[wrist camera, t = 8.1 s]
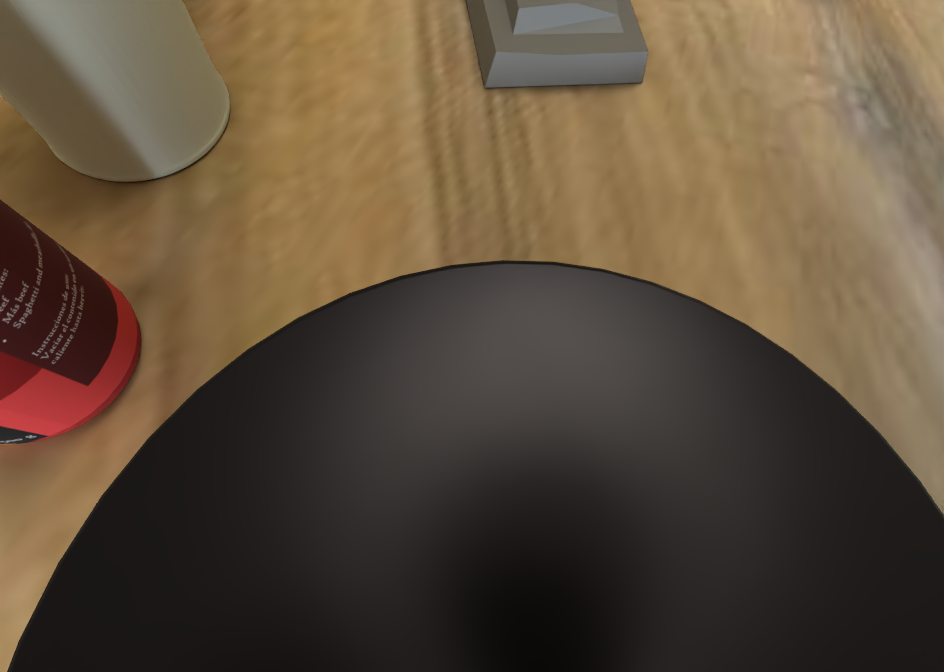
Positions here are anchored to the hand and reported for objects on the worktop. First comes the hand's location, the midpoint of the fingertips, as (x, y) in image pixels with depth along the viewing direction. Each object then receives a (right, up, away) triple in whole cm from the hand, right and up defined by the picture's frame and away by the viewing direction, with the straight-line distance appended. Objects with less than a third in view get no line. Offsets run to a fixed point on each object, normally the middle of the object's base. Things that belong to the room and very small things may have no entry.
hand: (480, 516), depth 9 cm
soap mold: (+4, +28, +25) cm, 37 cm away
